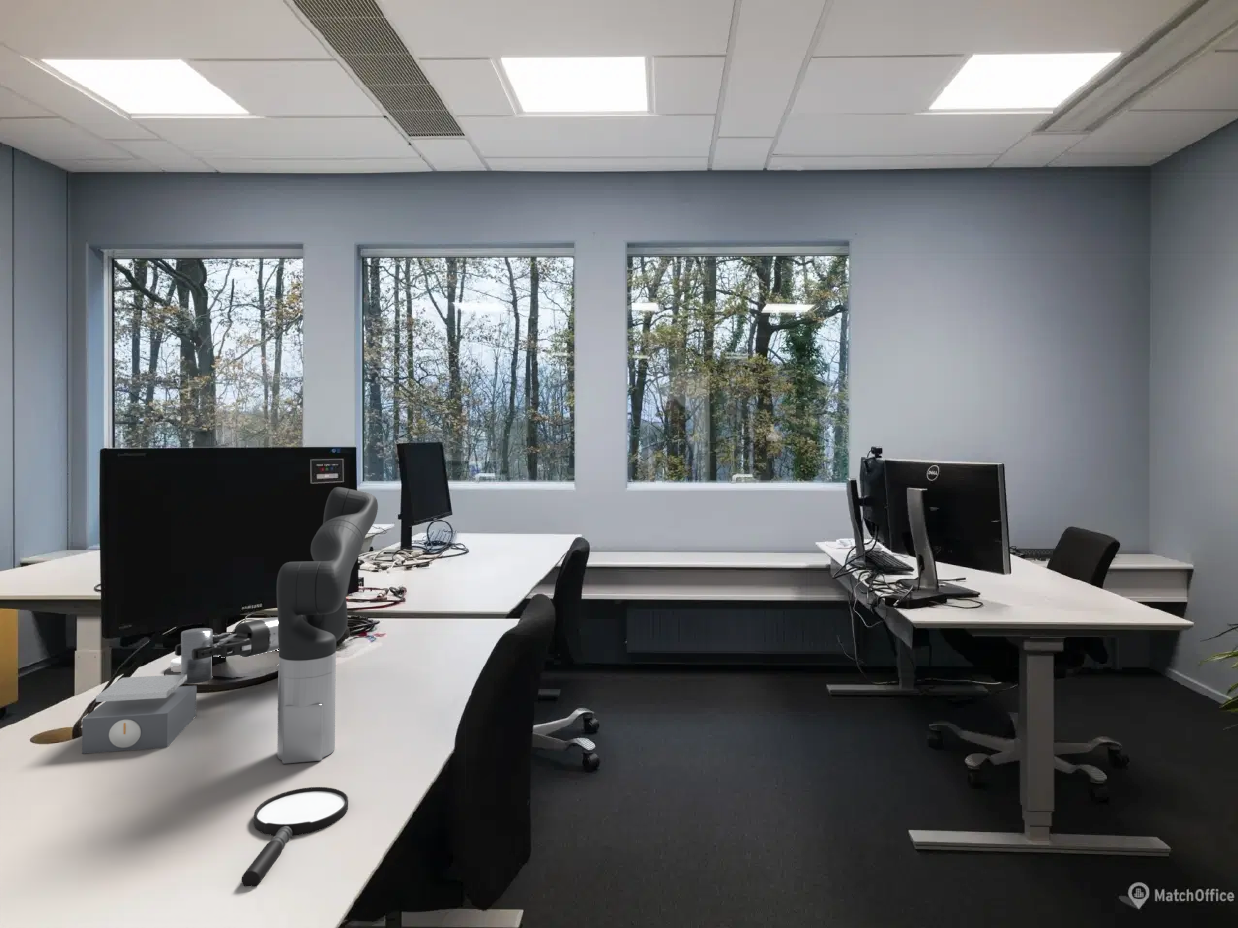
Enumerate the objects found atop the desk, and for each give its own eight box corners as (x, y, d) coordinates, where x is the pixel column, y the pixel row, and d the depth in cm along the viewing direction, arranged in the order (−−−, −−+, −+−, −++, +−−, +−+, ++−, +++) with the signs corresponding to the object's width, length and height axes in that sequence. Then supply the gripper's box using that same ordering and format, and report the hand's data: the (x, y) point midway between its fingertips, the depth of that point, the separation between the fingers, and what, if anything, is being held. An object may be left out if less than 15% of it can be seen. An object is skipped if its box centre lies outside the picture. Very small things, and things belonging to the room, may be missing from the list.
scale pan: (166, 697, 129) (166, 692, 129) (95, 701, 126) (96, 696, 126) (186, 679, 140) (186, 674, 140) (122, 682, 137) (122, 677, 137)
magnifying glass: (195, 891, 86) (195, 873, 86) (274, 799, 110) (274, 785, 110) (303, 887, 87) (303, 869, 87) (358, 797, 111) (358, 783, 111)
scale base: (166, 748, 127) (166, 714, 127) (80, 754, 123) (81, 719, 123) (196, 715, 143) (196, 685, 143) (121, 720, 139) (121, 689, 139)
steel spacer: (207, 682, 147) (207, 633, 147) (176, 684, 146) (177, 634, 146) (215, 674, 152) (216, 627, 152) (186, 676, 151) (186, 628, 151)
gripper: (242, 615, 165) (165, 630, 150) (282, 623, 158) (204, 638, 143) (242, 648, 165) (165, 666, 150) (281, 657, 158) (204, 676, 143)
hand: (184, 652), depth 147 cm, fingers closed on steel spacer, 5 cm apart
